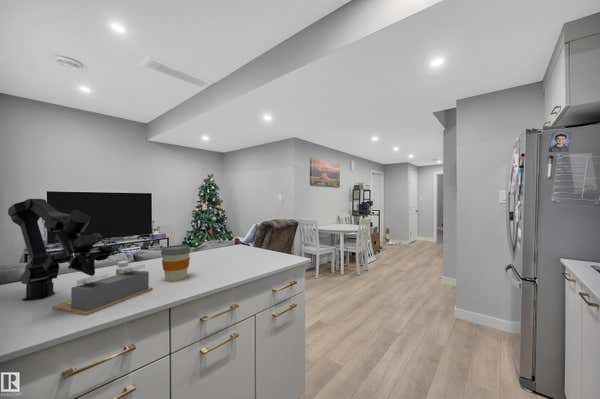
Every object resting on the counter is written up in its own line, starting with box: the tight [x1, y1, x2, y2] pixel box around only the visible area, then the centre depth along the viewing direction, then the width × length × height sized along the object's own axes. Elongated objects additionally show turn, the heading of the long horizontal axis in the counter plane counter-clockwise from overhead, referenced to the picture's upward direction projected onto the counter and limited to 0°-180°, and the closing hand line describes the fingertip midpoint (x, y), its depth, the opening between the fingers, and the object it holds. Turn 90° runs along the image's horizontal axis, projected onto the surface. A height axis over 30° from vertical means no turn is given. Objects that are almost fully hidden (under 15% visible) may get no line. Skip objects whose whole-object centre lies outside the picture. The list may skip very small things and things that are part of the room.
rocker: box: [118, 263, 146, 273], centre depth 96 cm, size 8×5×2 cm, turn 73°
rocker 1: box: [76, 273, 110, 286], centre depth 83 cm, size 8×5×2 cm, turn 73°
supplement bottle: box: [115, 260, 131, 275], centre depth 109 cm, size 5×5×10 cm
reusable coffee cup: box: [161, 244, 191, 282], centre depth 115 cm, size 13×13×15 cm
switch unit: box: [51, 269, 153, 316], centre depth 91 cm, size 17×24×8 cm
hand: (93, 274), depth 83 cm, fingers closed
